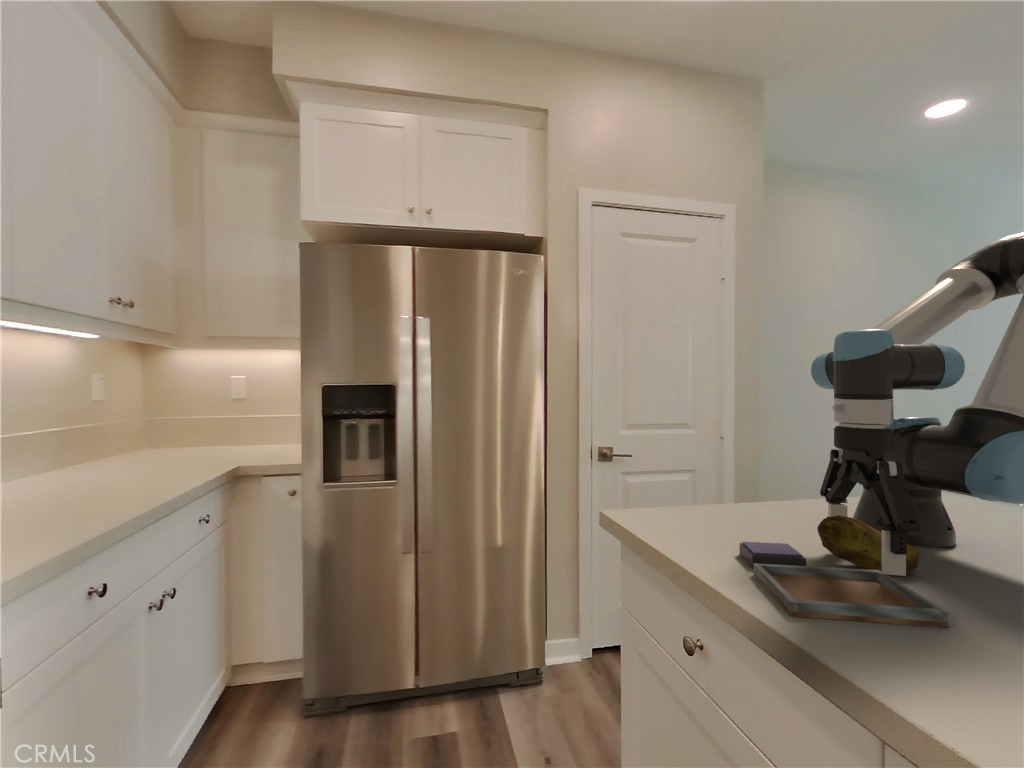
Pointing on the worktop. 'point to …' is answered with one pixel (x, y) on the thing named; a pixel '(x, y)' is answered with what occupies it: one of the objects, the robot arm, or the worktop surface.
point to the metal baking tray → (847, 595)
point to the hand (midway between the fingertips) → (863, 557)
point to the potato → (858, 543)
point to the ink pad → (771, 554)
